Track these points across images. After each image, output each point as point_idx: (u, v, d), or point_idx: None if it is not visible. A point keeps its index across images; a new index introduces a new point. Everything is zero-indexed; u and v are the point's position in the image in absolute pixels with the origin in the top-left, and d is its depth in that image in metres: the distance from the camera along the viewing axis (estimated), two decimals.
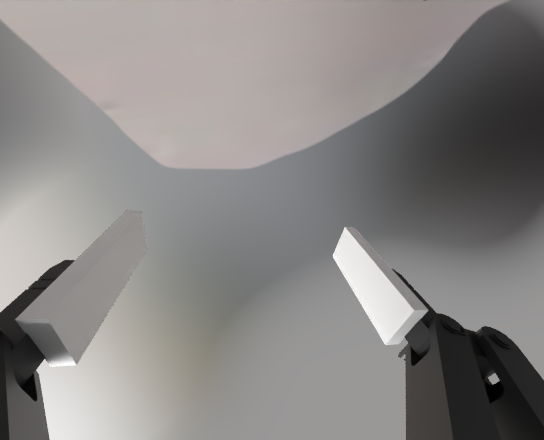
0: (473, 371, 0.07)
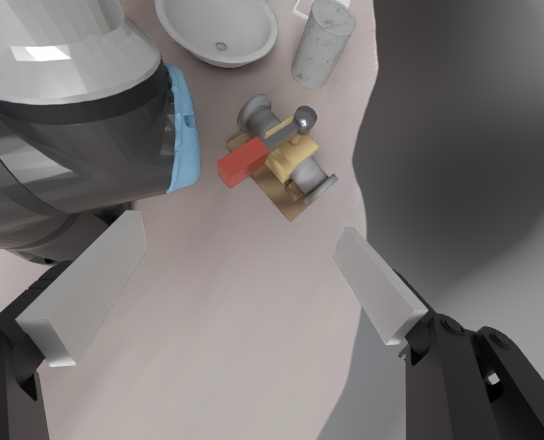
0: (473, 371, 0.07)
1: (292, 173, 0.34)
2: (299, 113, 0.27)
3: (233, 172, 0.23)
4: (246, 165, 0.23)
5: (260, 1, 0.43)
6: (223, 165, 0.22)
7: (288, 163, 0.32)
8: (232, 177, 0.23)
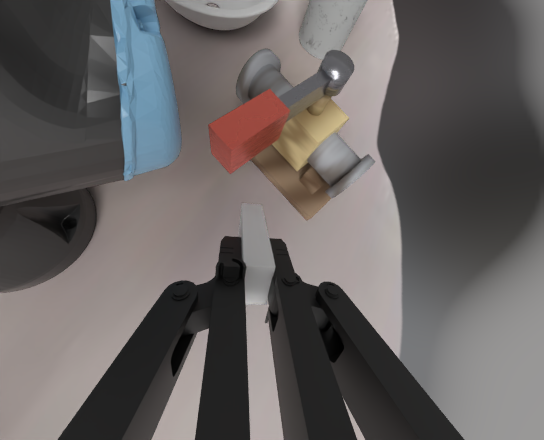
0: (308, 315, 0.07)
1: (312, 155, 0.25)
2: (329, 59, 0.18)
3: (235, 142, 0.14)
4: (255, 132, 0.14)
5: None
6: (218, 132, 0.14)
7: (308, 140, 0.23)
8: (233, 151, 0.14)
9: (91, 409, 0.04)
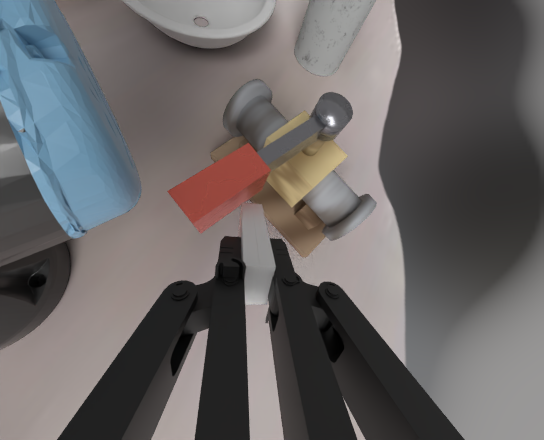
0: (309, 315, 0.07)
1: (307, 196, 0.23)
2: (324, 104, 0.16)
3: (198, 213, 0.12)
4: (225, 198, 0.12)
5: None
6: (179, 200, 0.11)
7: (302, 183, 0.21)
8: (197, 222, 0.12)
9: (91, 409, 0.04)
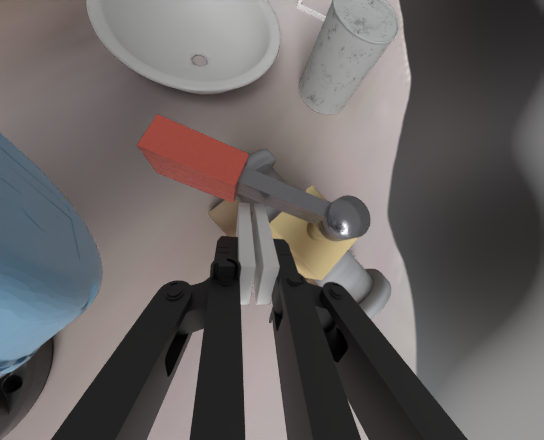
0: (313, 315, 0.08)
1: None
2: (344, 202, 0.14)
3: (150, 145, 0.12)
4: (178, 160, 0.12)
5: None
6: (154, 125, 0.12)
7: (309, 271, 0.19)
8: (143, 150, 0.12)
9: (83, 411, 0.04)
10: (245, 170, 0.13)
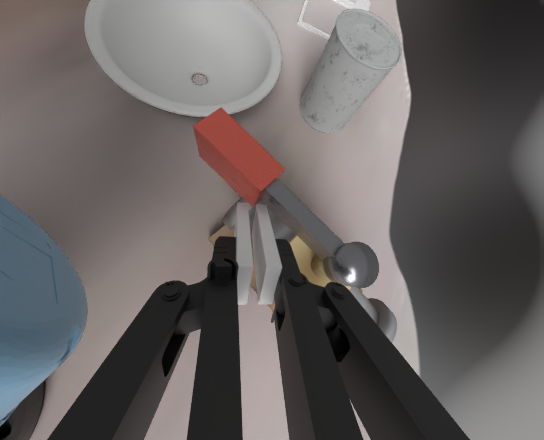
0: (315, 315, 0.08)
1: None
2: (357, 248, 0.13)
3: (203, 129, 0.13)
4: (221, 150, 0.13)
5: (254, 14, 0.29)
6: (214, 115, 0.13)
7: None
8: (196, 131, 0.13)
9: (79, 413, 0.04)
10: (275, 182, 0.14)
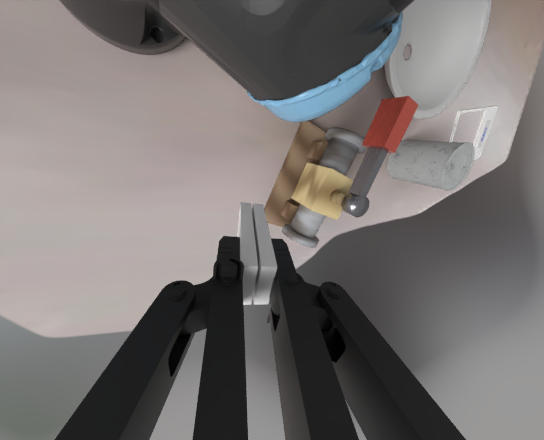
0: (310, 315, 0.07)
1: (304, 207, 0.34)
2: (366, 203, 0.28)
3: (407, 102, 0.24)
4: (399, 117, 0.24)
5: (463, 79, 0.39)
6: (414, 103, 0.24)
7: (311, 202, 0.32)
8: (404, 98, 0.24)
9: (88, 410, 0.04)
10: (386, 151, 0.26)
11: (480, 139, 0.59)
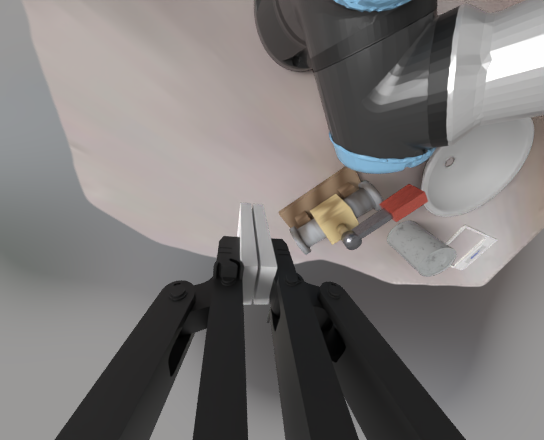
0: (310, 314, 0.07)
1: (315, 222, 0.43)
2: (359, 243, 0.37)
3: (421, 195, 0.33)
4: (411, 201, 0.33)
5: (476, 204, 0.49)
6: (425, 198, 0.33)
7: (323, 221, 0.41)
8: (421, 191, 0.33)
9: (88, 410, 0.04)
10: (391, 217, 0.35)
11: (470, 256, 0.69)
